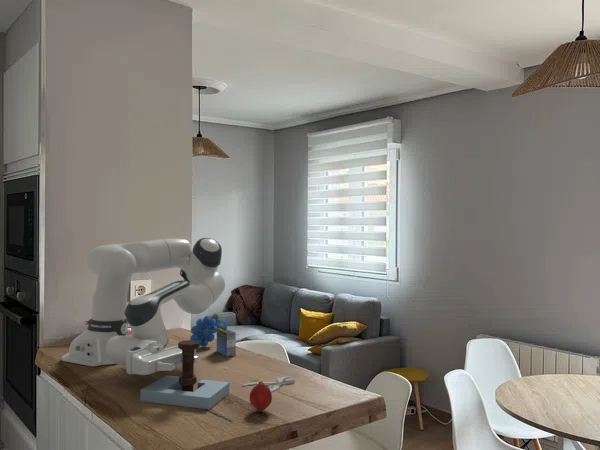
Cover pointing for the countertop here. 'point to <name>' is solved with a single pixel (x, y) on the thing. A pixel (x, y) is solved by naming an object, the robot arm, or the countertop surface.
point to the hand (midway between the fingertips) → (185, 363)
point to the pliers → (278, 383)
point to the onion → (260, 396)
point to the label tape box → (225, 339)
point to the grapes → (204, 331)
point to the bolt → (188, 364)
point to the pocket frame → (185, 393)
